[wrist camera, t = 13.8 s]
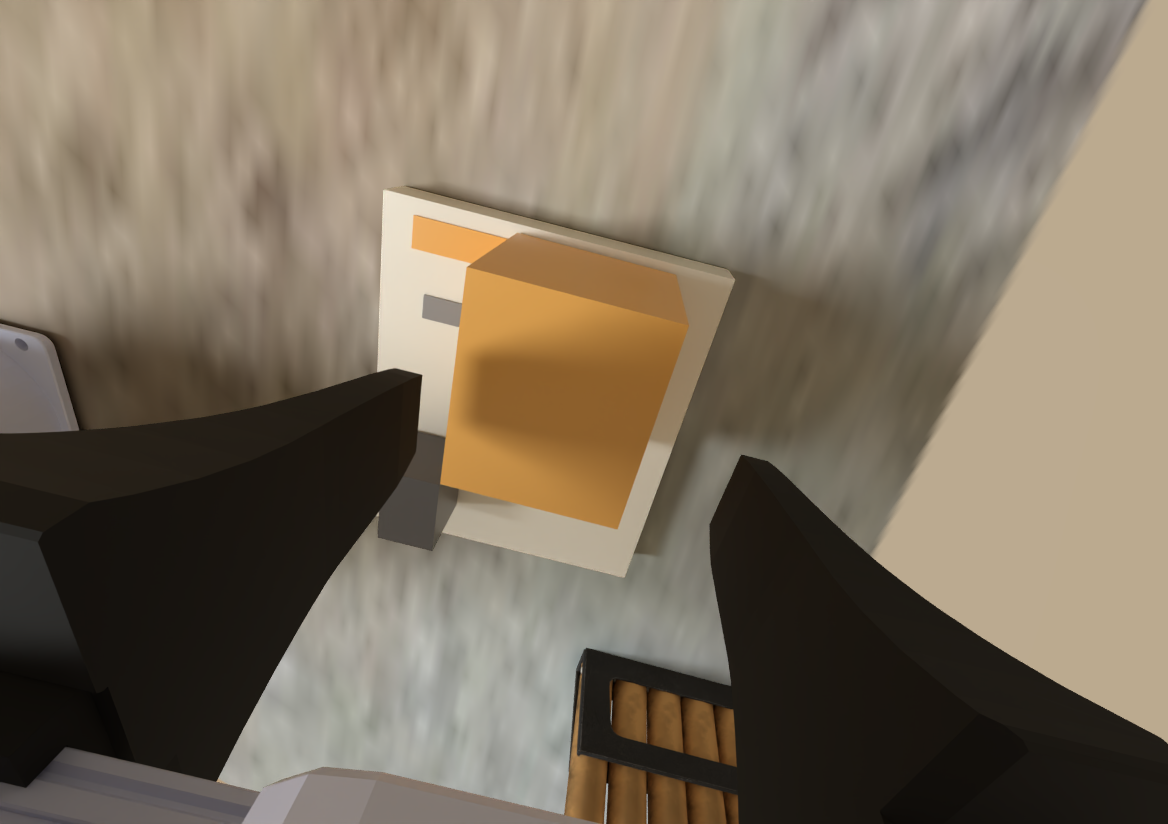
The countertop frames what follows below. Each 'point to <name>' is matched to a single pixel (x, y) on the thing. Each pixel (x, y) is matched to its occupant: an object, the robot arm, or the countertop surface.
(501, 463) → the cap
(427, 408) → the panel
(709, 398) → the countertop surface
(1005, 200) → the countertop surface
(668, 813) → the ammunition clip
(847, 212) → the countertop surface
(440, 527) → the block
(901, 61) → the countertop surface
